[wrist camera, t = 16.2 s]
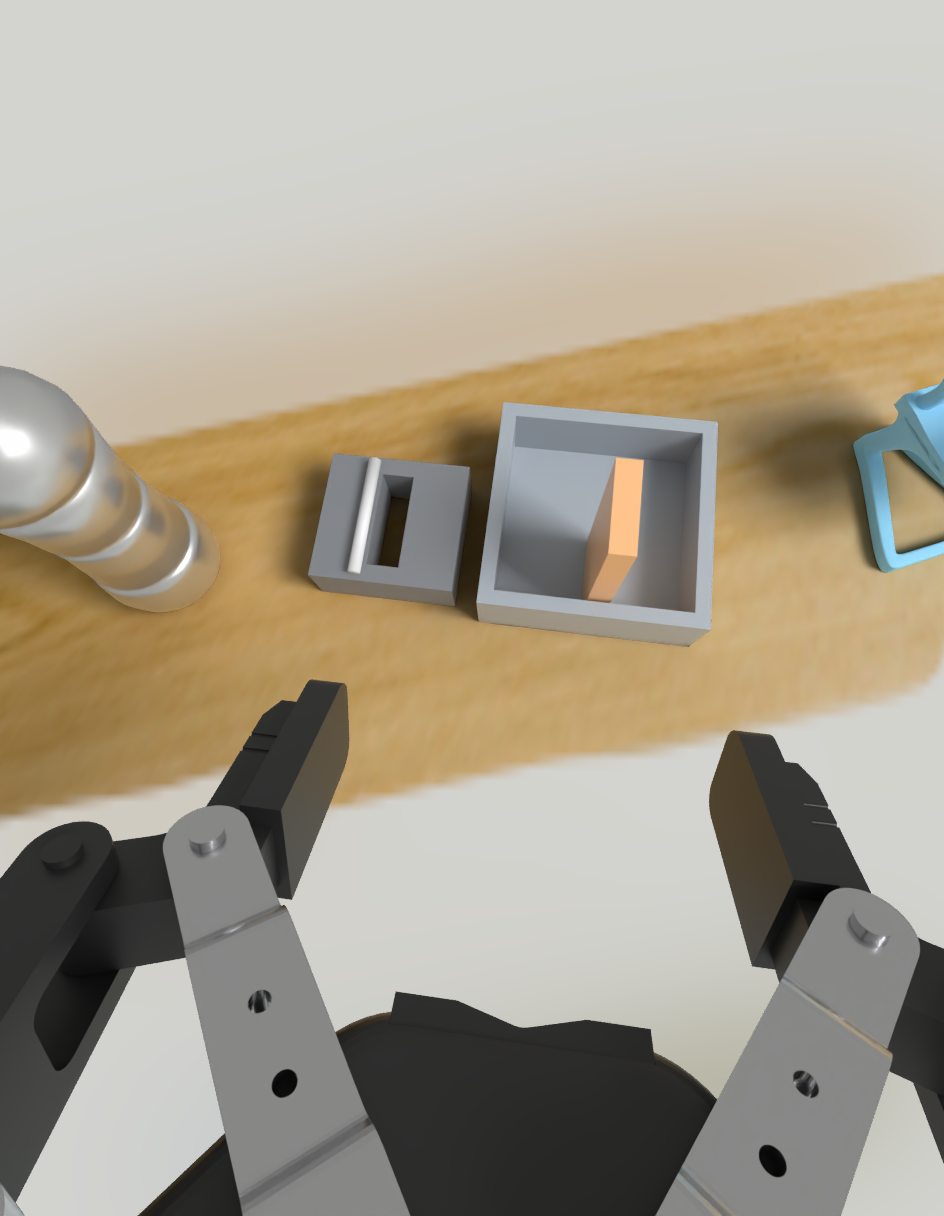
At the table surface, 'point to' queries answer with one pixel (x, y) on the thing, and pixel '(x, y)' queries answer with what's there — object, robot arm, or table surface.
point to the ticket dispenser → (360, 525)
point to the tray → (565, 511)
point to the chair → (930, 436)
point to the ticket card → (614, 532)
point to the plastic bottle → (95, 503)
